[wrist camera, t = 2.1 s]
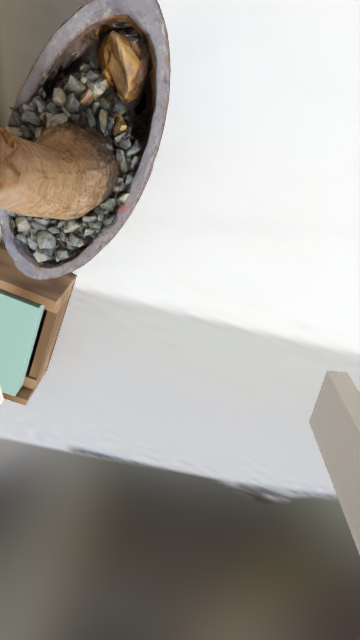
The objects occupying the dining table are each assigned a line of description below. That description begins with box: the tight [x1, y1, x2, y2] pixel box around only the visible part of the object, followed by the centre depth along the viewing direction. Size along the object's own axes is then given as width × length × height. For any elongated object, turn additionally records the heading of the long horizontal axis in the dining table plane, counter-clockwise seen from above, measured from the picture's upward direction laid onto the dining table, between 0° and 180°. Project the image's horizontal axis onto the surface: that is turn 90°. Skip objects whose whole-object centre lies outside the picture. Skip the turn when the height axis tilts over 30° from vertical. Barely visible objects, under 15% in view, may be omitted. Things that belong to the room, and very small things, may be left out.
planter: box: [0, 0, 170, 280], centre depth 22 cm, size 15×17×20 cm
